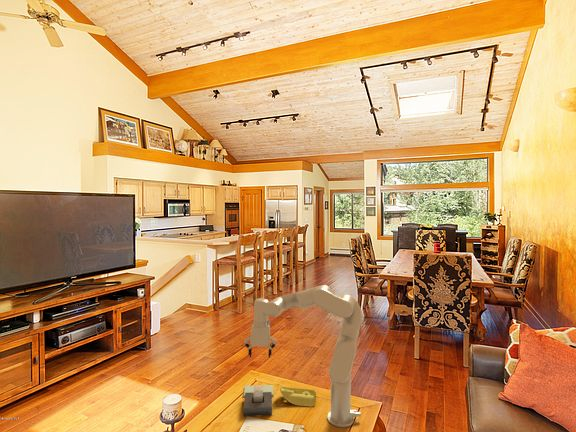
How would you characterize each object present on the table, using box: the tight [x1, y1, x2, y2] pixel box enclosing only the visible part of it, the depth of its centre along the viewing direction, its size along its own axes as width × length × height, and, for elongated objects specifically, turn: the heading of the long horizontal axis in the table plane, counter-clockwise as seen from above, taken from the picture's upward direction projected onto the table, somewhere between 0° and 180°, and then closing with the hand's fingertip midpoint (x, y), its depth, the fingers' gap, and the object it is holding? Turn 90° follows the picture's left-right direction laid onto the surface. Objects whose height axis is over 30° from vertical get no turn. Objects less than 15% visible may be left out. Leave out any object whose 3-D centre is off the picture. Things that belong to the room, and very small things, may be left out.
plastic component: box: [278, 386, 317, 408], centre depth 176 cm, size 20×7×10 cm
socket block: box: [242, 392, 273, 417], centre depth 168 cm, size 14×14×4 cm
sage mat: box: [243, 384, 274, 398], centre depth 183 cm, size 16×10×1 cm, turn 94°
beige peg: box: [253, 386, 263, 403], centre depth 168 cm, size 5×5×10 cm
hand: (259, 356), depth 169 cm, fingers open, 9 cm apart
